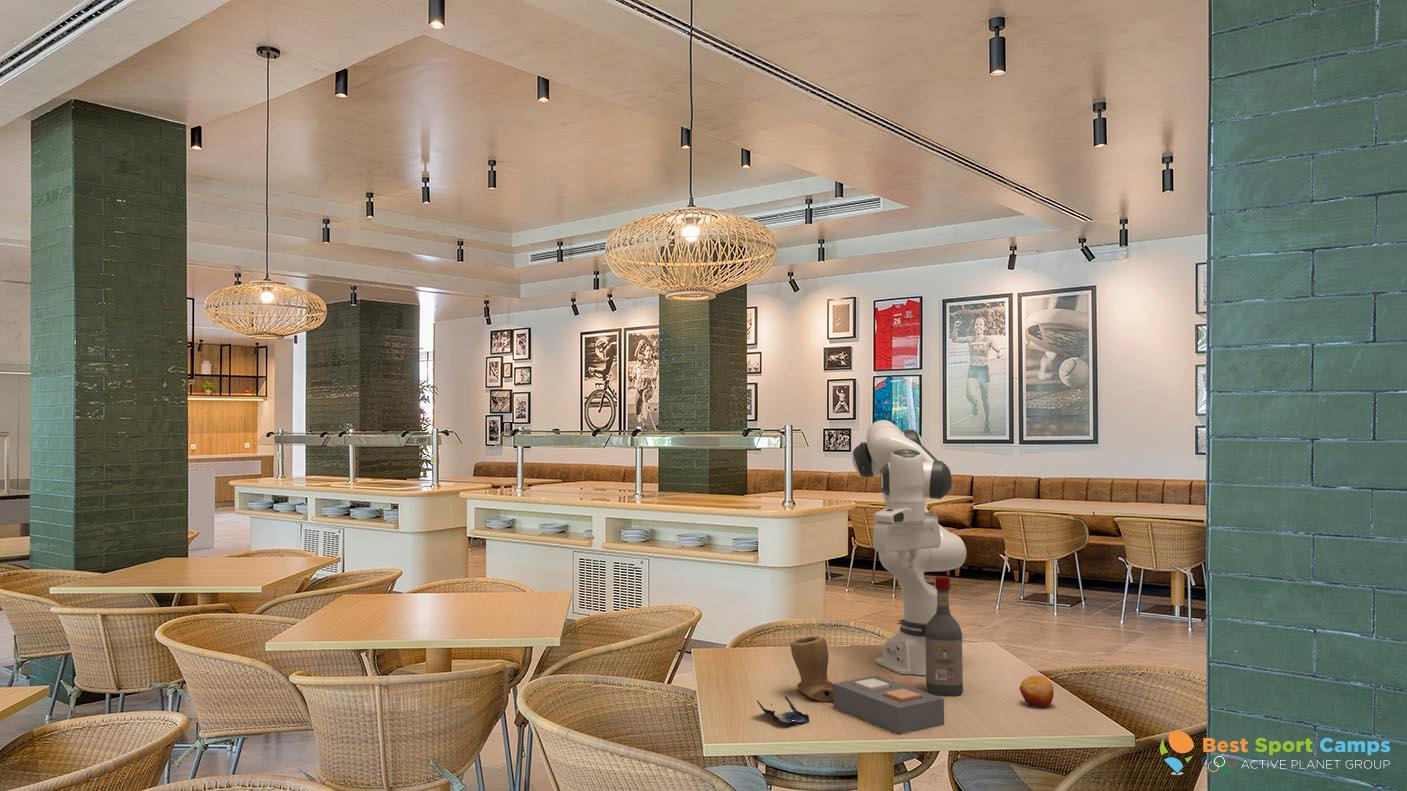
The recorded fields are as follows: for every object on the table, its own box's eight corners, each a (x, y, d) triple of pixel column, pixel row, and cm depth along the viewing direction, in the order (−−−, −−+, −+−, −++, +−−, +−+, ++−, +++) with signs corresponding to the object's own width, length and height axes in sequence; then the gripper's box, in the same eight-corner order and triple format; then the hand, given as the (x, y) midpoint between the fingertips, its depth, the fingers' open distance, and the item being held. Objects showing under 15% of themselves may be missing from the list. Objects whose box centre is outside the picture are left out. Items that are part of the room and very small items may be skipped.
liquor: (963, 697, 246) (961, 580, 247) (927, 695, 247) (925, 579, 248) (961, 687, 255) (959, 575, 255) (926, 685, 256) (924, 574, 257)
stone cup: (786, 688, 254) (785, 632, 255) (828, 686, 257) (828, 630, 257) (802, 705, 240) (801, 645, 240) (847, 702, 242) (846, 643, 242)
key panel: (833, 707, 237) (833, 683, 237) (876, 699, 244) (876, 675, 244) (899, 734, 217) (899, 708, 217) (944, 724, 224) (943, 698, 224)
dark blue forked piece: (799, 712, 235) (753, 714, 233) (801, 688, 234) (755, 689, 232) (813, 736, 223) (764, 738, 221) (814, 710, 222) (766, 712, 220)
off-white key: (854, 694, 236) (854, 681, 236) (873, 691, 239) (873, 678, 239) (870, 700, 231) (870, 687, 231) (889, 696, 234) (889, 683, 234)
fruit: (1058, 695, 242) (1054, 671, 238) (1053, 718, 236) (1049, 695, 232) (1025, 690, 246) (1021, 667, 242) (1020, 713, 240) (1015, 690, 236)
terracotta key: (884, 705, 227) (884, 692, 227) (903, 701, 230) (903, 688, 230) (901, 712, 222) (901, 698, 222) (920, 708, 225) (920, 694, 225)
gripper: (928, 510, 250) (929, 563, 250) (868, 514, 240) (869, 569, 239) (946, 512, 245) (946, 566, 244) (885, 516, 234) (886, 572, 234)
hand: (908, 567), depth 242 cm, fingers closed
